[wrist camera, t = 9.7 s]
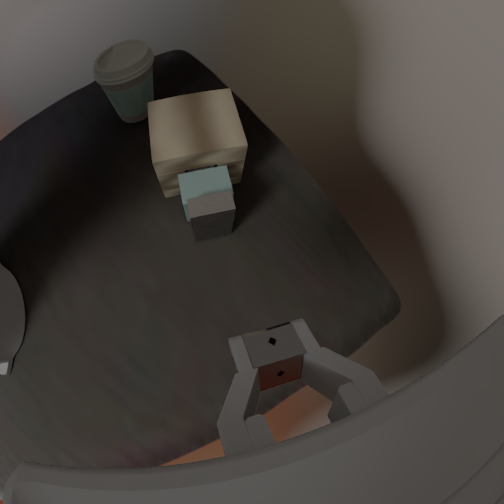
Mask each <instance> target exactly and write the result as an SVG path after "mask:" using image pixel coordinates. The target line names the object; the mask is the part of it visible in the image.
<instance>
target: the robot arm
mask: <svg viewBox="0 0 504 504" xmlns="http://www.w3.org/2000/svg"><path fill="white" fill-rule="evenodd" d="M24 329H25V308H24V301H23V297H22V293H21V290H20V287H19V285H18V283H17V281H16V279H15V277H14V276H13V275H12V273H11V272H10V271H9V270H7V269H6V268H5V267H3V266H2V265H1V263H0V374H2V375H9V374H10V372H11V368H12V362H13V358H14V356H15V354H16V353H17V351H18V349H19V347H20V345H21V343H22V339H23V335H24ZM228 342H229V347H230V351H231V356H232V360H233V364H234V368H235V371H236V374H235V376H234V378H233V381H232V384H231V387H230V389H229V392H228V395H227V397H226V400H225V403H224V405H223V408H222V411H221V413H220V416H219V419H218V421H217V427H218V431H219V435H220V438H221V442H222V446H223V449H224V453H225V457H219V458H214V459H209V460H204V461H199V462H192V463H185V464H177V465H169V466H159V467H146V468H126V469H95V468H76V467H64V466H54V465H46V464H40V463H34V462H27V461H24V462H21V463H20V464H19V465H18V466H17V467H16V468H15V470H14V471H13V473H12V474H11V475H10V477H9V478H8V480H7V482H6V484H5V487H4V493H3V504H504V315H502V316H500V317H499V318H498V319H497V320H495V321H494V322H493V323H492V324H491V325H490V326H489V327H488V328H486V329H485V330H484V331H483V332H482V333H480V334H479V335H478V336H477V337H476V338H474V339H473V340H472V341H471V342H469V343H468V344H467V345H465V346H464V347H463V348H462V349H460V350H459V351H458V352H456V353H455V354H454V355H452V356H451V357H450V358H448V359H447V360H445V361H444V362H442V363H441V364H439V365H438V366H436V367H435V368H433V369H432V370H431V371H429V372H427V373H426V374H424V375H423V376H421V377H420V378H418V379H416V380H415V381H413V382H412V383H410V384H408V385H406V386H405V387H403V388H401V389H400V390H398V391H396V392H394V393H393V394H391V395H388V393H387V392H386V390H385V389H384V387H383V386H382V384H381V383H380V381H379V380H378V378H377V377H376V375H375V374H374V372H373V371H372V370H370V369H368V368H366V367H363V366H361V365H359V364H357V363H355V362H353V361H351V360H349V359H347V358H345V357H343V356H341V355H339V354H337V353H335V352H333V351H331V350H329V349H327V348H325V347H322V348H320V346H319V344H318V343H317V341H316V339H315V338H314V336H313V334H312V333H311V331H310V329H309V328H308V326H307V324H306V323H305V321H304V320H303V319H302V318H301V319H298V320H295V321H291V322H287V323H284V324H280V325H277V326H273V327H270V328H267V329H265V330H260V331H256V332H252V333H248V334H243V335H239V336H235V337H231V338H228ZM299 379H301V381H303V382H304V383H306V384H307V385H309V386H310V387H311V388H313V389H314V390H316V391H318V392H319V393H320V394H322V395H323V396H325V397H326V398H328V399H329V400H331V401H332V402H333V404H332V406H331V408H330V411H329V413H328V418H329V420H330V422H331V423H330V424H328V425H326V426H323V427H321V428H318V429H315V430H313V431H310V432H307V433H305V434H302V435H299V436H296V437H293V438H291V439H287V440H284V441H281V442H278V443H275V441H274V439H273V436H272V434H271V431H270V429H269V426H268V424H267V421H266V419H265V416H263V415H260V414H258V415H255V412H256V409H257V405H258V401H259V397H260V393H261V392H260V391H264V390H267V389H270V388H273V387H276V386H279V385H282V384H286V383H289V382H292V381H296V380H299Z"/></svg>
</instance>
